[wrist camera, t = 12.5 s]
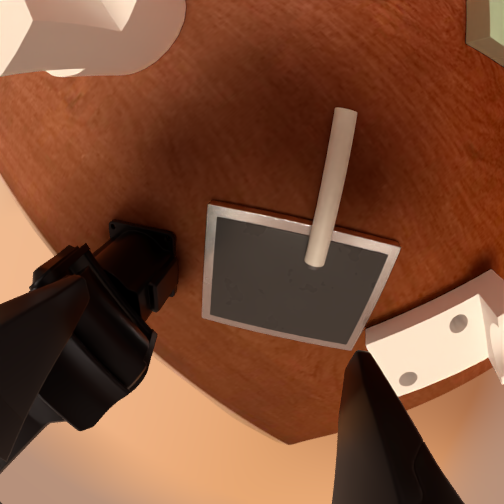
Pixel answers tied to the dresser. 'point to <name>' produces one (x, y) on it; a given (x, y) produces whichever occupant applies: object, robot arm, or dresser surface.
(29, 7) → the cylinder with rectangular tab
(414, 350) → the bracket
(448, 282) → the dresser surface
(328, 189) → the stylus
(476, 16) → the pen stand
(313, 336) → the tablet
